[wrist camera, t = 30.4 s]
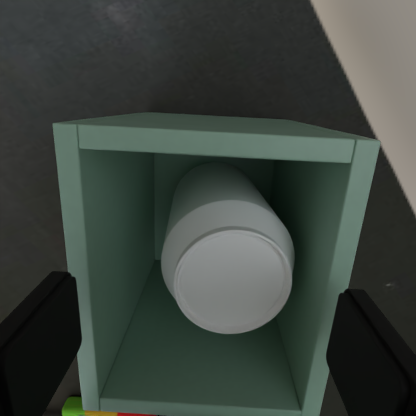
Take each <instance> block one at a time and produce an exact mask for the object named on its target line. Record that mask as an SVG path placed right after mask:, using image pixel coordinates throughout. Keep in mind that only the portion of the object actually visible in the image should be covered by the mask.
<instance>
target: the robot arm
mask: <svg viewBox="0 0 416 416" xmlns="http://www.w3.org/2000/svg"><path fill="white" fill-rule="evenodd" d="M81 343H82V333H81V323H80V312H79V302H78V292H77V282H76V278H75V277H73V276H72V275H71V273H70V272H58V271H52V272H51V273H50V274H49V275H48V276H47V277H46V278H45V279H44V280H43V281H42V282H41V283H40V284H39V285H38V286H37V287H36V288H35V289H34V290H33V291H32V292H31V293H30V294H29V295H28V296H27V297H26V298H25V299H24V300H23V301H22V302H21V303H20V304H19V305H18V306H17V307H16V308H15V309H14V310H13V311H12V312H11V313H10V314H9V315H8V316H7V317H6V318H5V319H4V320H3V321H2V322H1V324H0V416H42V415H43V413H44V411H45V410H46V408H47V406H48V404H49V402H50V401H51V399H52V397H53V395H54V394H55V392H56V390H57V388H58V386H59V385H60V383H61V381H62V379H63V378H64V376H65V374H66V372H67V370H68V369H69V367H70V365H71V363H72V362H73V360H74V358H75V356H76V354H77V353H78V351H79V349H80V346H81ZM326 361H327V365H328V367H329V370H330V372H331V374H332V377H333V379H334V382H335V384H336V386H337V389H338V391H339V393H340V396H341V398H342V401H343V403H344V405H345V408H346V410H347V412H348V415H349V416H416V355H415V354H414V353H413V351H412V350H411V349H410V348H409V346H408V345H407V344H406V343H405V341H404V340H403V339H402V337H401V336H400V335H399V334H398V332H397V331H396V330H395V329H394V327H393V326H392V325H391V323H390V322H389V321H388V320H387V318H386V317H385V316H384V315H383V313H382V312H381V311H380V309H379V308H378V307H377V306H376V304H375V303H374V302H373V301H372V299H371V298H370V297H369V295H368V294H367V293H366V292H365V291H364V290H359V289H345V291H344V293H340V294H339V296H338V301H337V305H336V310H335V314H334V319H333V324H332V328H331V333H330V338H329V342H328V347H327V351H326Z"/></svg>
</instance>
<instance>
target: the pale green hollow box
mask: <svg viewBox="0 0 416 416" xmlns="http://www.w3.org/2000/svg"><path fill="white" fill-rule="evenodd" d="M53 133H54V142H55V152H56V161H57V171H58V180H59V189H60V199H61V208H62V217H63V227H64V236H65V246H66V255H67V264H68V272H70V273H71V275H72V276H73V277H75V278H76V282H77V292H78V302H79V312H80V323H81V333H82V343H81V346H80V349H79V351H78V353H77V358H78V367H79V377H80V386H81V396H82V405H83V410H90V411H100V409H101V411H106V412H121V413H137V414H152V415H167V416H319V414H320V409H321V405H322V400H323V396H324V391H325V387H326V382H327V378H328V374H329V367H328V365H327V361H326V351H327V347H328V342H329V338H330V333H331V328H332V324H333V319H334V314H335V310H336V305H337V301H338V296H339V294H340V293H344V291H345V289H348V285H349V280H350V276H351V271H352V267H353V263H354V258H355V254H356V249H357V245H358V240H359V236H360V231H361V227H362V223H363V218H364V214H365V209H366V205H367V200H368V196H369V192H370V187H371V183H372V178H373V174H374V169H375V165H376V160H377V156H378V152H379V147H380V141H379V140H375V139H371V138H366V137H362V136H358V135H353V134H349V133H344V132H340V131H336V130H331V129H327V128H322V127H318V126H313V125H309V124H305V123H300V122H296V121H291V120H285V119H266V118H247V117H229V116H210V115H191V114H173V113H154V112H143V113H134V114H125V115H117V116H108V117H100V118H91V119H82V120H74V121H65V122H56V123H53ZM210 162H220V163H226V164H229V165H232V166H234V167H236V168H238V169H239V170H241V171H242V172H243V173H244V174H245V175H246V176H247V177H248V178H249V179H250V181H251V182H252V183H253V184H254V186H255V187H256V188H257V190H258V191H259V192H260V194H261V195H262V196H263V198H264V199H265V200H266V202H267V203H268V204H269V206H270V207H271V208H272V210H273V211H274V212H275V214H276V215H277V216H278V218H279V219H280V220H281V222H282V223H283V224H284V226H285V227H286V229H287V230H288V232H289V234H290V236H291V239H292V242H293V246H294V252H295V262H294V269H293V273H292V287H291V291H290V295H289V297H288V299H287V301H286V303H285V305H284V307H283V308H282V309H281V311H280V312H279V313H278V314H277V315H276V316H275V317H274V318H273V319H271V320H270V321H269V322H267V323H266V324H264V325H262V326H261V327H258V328H256V329H254V330H251V331H248V332H243V333H237V334H222V333H216V332H212V331H208V330H206V329H203V328H201V327H199V326H198V325H196V324H194V323H193V322H192V321H190V320H189V319H188V318H187V317H186V316H185V315H184V313H183V312H182V311H181V309H180V308H179V306H178V304H177V302H176V299H175V298H174V297H173V296H172V294H171V293H170V292H169V290H168V288H167V286H166V284H165V282H164V279H163V275H162V270H161V255H162V250H163V245H164V240H165V235H166V230H167V225H168V220H169V216H170V211H171V206H172V201H173V197H174V193H175V190H176V188H177V185H178V184H179V182H180V180H181V179H182V178H183V177H184V176H185V175H186V174H187V173H188V172H189V171H190V170H192V169H193V168H195V167H197V166H199V165H202V164H205V163H210Z"/></svg>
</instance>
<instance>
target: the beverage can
mask: <svg viewBox="0 0 416 416" xmlns="http://www.w3.org/2000/svg"><path fill="white" fill-rule="evenodd" d="M294 262H295V252H294V246H293V242H292V239H291V236H290V234H289V232H288V230H287V229H286V227H285V226H284V224H283V223H282V222H281V220H280V219H279V218H278V216H277V215H276V214H275V212H274V211H273V210H272V208H271V207H270V206H269V204H268V203H267V202H266V200H265V199H264V198H263V196H262V195H261V194H260V192H259V191H258V190H257V188H256V187H255V186H254V184H253V183H252V182H251V181H250V179H249V178H248V177H247V176H246V175H245V174H244V173H243V172H242V171H241V170H239V169H238V168H236V167H234V166H232V165H229V164H226V163H220V162H210V163H205V164H202V165H199V166H197V167H195V168H193V169H192V170H190V171H189V172H188V173H187V174H186V175H185V176H184V177H183V178H182V179H181V180H180V182H179V184H178V185H177V188H176V190H175V193H174V197H173V201H172V206H171V211H170V216H169V220H168V225H167V230H166V235H165V240H164V245H163V250H162V255H161V270H162V275H163V279H164V282H165V284H166V286H167V288H168V290H169V292H170V293H171V294H172V296H173V297H174V298H175V299H176V302H177V304H178V306H179V308H180V309H181V311H182V312H183V313H184V315H185V316H186V317H187V318H188V319H189V320H190V321H192V322H193V323H194V324H196V325H198V326H199V327H201V328H203V329H206V330H208V331H212V332H216V333H222V334H237V333H243V332H248V331H251V330H254V329H256V328H258V327H261V326H262V325H264V324H266V323H267V322H269V321H270V320H271V319H273V318H274V317H275V316H276V315H277V314H278V313H279V312H280V311H281V309H282V308H283V307H284V305H285V303H286V301H287V299H288V297H289V295H290V291H291V287H292V273H293V269H294Z"/></svg>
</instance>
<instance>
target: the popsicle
mask: <svg viewBox="0 0 416 416" xmlns="http://www.w3.org/2000/svg"><path fill="white" fill-rule="evenodd" d="M78 415H86V416H156V415H152V414H137V413H121V412H106V411H101V409H100V411H90V410H83V405H82V397H69V398H68V399H67V400H66V402H65V404H64V406H63V408H62V416H78Z"/></svg>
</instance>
